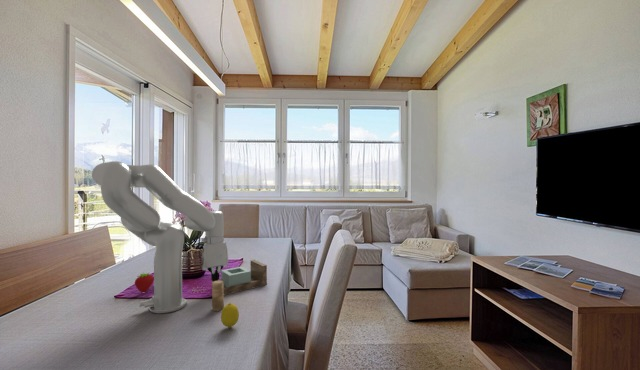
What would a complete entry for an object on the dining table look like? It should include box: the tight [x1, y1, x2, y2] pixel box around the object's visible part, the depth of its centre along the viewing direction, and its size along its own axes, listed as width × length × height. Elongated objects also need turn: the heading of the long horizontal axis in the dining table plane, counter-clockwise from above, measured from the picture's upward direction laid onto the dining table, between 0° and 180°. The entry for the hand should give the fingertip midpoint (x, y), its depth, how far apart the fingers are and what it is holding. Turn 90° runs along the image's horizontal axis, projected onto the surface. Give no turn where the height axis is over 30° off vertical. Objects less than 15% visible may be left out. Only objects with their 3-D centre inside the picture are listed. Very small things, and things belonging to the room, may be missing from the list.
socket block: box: [220, 266, 251, 287], centre depth 134 cm, size 10×10×6 cm
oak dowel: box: [211, 281, 225, 312], centre depth 110 cm, size 4×4×10 cm
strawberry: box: [134, 272, 154, 293], centre depth 126 cm, size 6×8×10 cm
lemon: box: [220, 302, 240, 329], centre depth 95 cm, size 6×6×8 cm
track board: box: [218, 259, 268, 296], centre depth 135 cm, size 20×13×9 cm, turn 128°
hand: (215, 281), depth 128 cm, fingers closed
